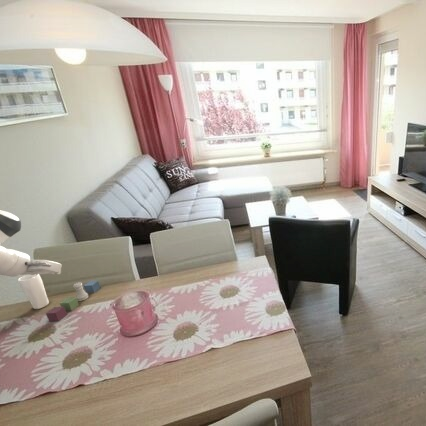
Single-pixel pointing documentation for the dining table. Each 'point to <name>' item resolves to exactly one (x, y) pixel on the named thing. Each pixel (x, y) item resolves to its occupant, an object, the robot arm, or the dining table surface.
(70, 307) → the block
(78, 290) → the rook chess piece
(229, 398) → the dining table surface
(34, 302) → the white tall hollow cylinder
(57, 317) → the block
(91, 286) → the block
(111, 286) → the dining table surface
